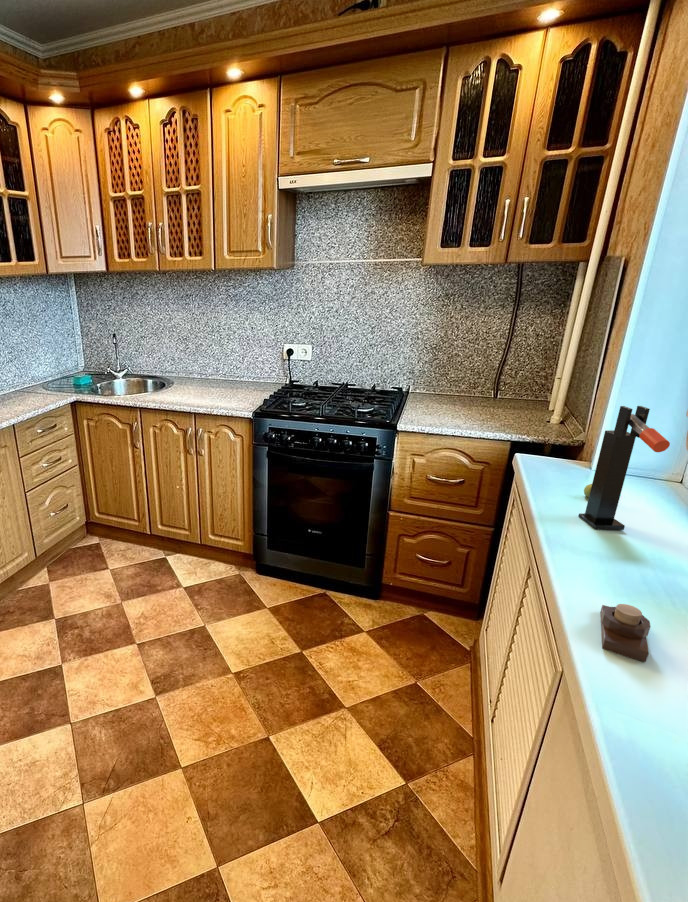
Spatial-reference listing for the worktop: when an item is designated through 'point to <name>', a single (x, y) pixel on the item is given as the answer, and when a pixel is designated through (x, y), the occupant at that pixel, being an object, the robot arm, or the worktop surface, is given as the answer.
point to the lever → (649, 435)
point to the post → (612, 472)
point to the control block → (624, 635)
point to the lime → (587, 490)
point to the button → (627, 614)
